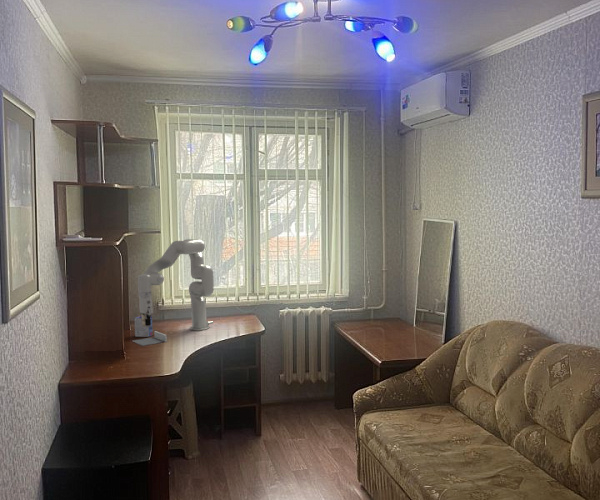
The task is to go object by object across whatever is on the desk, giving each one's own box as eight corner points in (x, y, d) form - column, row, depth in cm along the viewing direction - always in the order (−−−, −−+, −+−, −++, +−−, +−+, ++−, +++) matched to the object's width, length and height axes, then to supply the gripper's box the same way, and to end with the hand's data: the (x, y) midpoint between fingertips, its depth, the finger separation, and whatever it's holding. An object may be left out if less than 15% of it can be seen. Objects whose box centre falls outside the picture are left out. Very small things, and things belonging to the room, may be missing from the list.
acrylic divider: (155, 337, 370) (155, 331, 370) (166, 341, 358) (166, 335, 357) (154, 337, 370) (154, 331, 369) (165, 341, 357) (165, 335, 357)
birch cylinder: (148, 324, 361) (148, 313, 360) (151, 326, 357) (151, 314, 356) (140, 325, 358) (140, 314, 357) (143, 327, 354) (143, 315, 353)
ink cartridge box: (153, 335, 377) (152, 312, 376) (149, 337, 371) (148, 314, 370) (139, 334, 379) (137, 312, 378) (134, 336, 373) (133, 314, 372)
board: (152, 337, 369) (152, 337, 369) (163, 342, 356) (162, 341, 356) (132, 341, 361) (132, 340, 361) (142, 346, 348) (142, 345, 348)
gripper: (156, 295, 352) (157, 325, 353) (145, 292, 365) (146, 321, 366) (144, 297, 347) (145, 327, 348) (133, 294, 361) (134, 323, 362)
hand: (146, 324), depth 357 cm, fingers closed on birch cylinder, 5 cm apart
